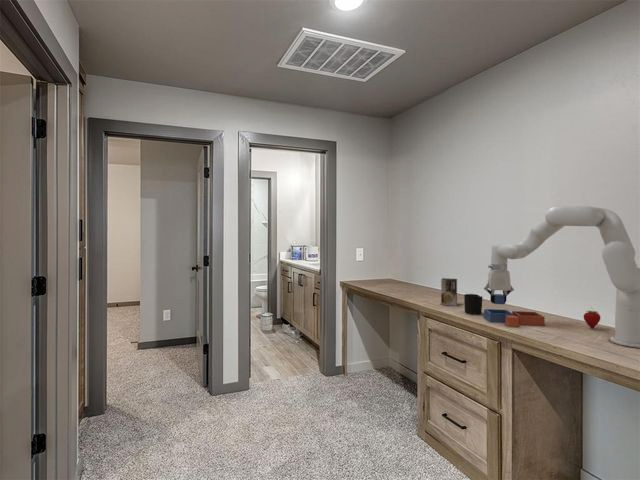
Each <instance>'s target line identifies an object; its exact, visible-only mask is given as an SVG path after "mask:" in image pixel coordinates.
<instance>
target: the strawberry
mask: <svg viewBox="0 0 640 480" xmlns="http://www.w3.org/2000/svg"><path fill="white" fill-rule="evenodd" d="M590 308H591V309H593V308H592V307H590ZM583 320H584V322H585V323H586V324H587V325H588V326H589V328H590V329H594V328H596V327H597V325H598V324H599V323H600V322H601V315H600V313H599V312H598V311H595V310H587V311H585V313H584V314H583Z"/></svg>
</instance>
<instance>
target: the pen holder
mask: <svg viewBox="0 0 640 480" xmlns="http://www.w3.org/2000/svg"><path fill="white" fill-rule="evenodd" d="M463 296H464V297H463V299H464V301H463V303H464V304H463V305H464V313H465V314H467V315H473V316H474V315H475V316H477V315H478V316H479V315H481V314H482V311H483V295H482V296H480V295H479V294H476V293H465V294H464V295H463Z"/></svg>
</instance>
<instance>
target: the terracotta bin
mask: <svg viewBox="0 0 640 480" xmlns="http://www.w3.org/2000/svg"><path fill="white" fill-rule="evenodd" d="M511 313H512V314H514V316H516V317H518V318H519V320H518V326H532V327H533V326H536V327H537V326H538V327H545V321H546V320H545V316H544V315H542V314H540V313H538V312H536V311H523V310H522V311H520V310H519V311H518V310H512V312H511Z"/></svg>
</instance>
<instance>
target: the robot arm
mask: <svg viewBox="0 0 640 480" xmlns="http://www.w3.org/2000/svg"><path fill="white" fill-rule="evenodd" d="M564 227H596V228H597V229H598V230H599V234H600V237H601V239H602V242H603V243H604V247H602V250H601V257H602V260H603V263H604V266H605V269H606V271H607V274H608V277H609V279H610V281H611V283H612V285H613V286H614V287H615V288H616V289H615V290H616V291H615V308H614V309H615V312H614V314H615V315H614V316H615V317H614V336H611V337H609V341H610V342H611V343H613V344H616V345H620V346H624V347H630V348H638V349H640V267H638V265H637V263H636V259H635V257H636V249H635V247H634V245H633V244H632V243H633V242H632V241H631V238H630V236H629V233H628V232H627V230H626V227H625V225H624V223H623V221H622V218H621V217H620V216H619V215H618V214H617V213H616V212H614V211H613V210H611V209H607V208H604V207H596V206H589V205H583V206H582V205H573V206H560V205H559V206H557V205H555V206H552V207H550V208H548V209H547V210H546V211H545V213H544V217H543V218H541V219H540V220H538V221H537V222H536V223H535V224H533V226H531V228H530V232H529V234H528V235H527V236H526V237H525V238H523V239H522V240H521V241H519V242H517V243H511V244H506V243H493V244H492V245H491V250H490V251H491V252H490V253H491V255H490V257H491V258H490V259H491V260H490V265H489V264H488V266H487V268H488V269H489V271H488V277H487V283H486V285H485V286H484V287H483V290H484V291H486V292H487V293H488V294H489V295H490V299H489V300H490V302H491V303H492V304H494V303H495V296H494V294H495V291H501V292H502V295H504V296H505V297H504V304H503V305H506V303H507V296H509V294H510V293H512V292H513V291H515V289H514V288H513V286H512V285H511V284H512V283H511V274H510V273H511V272H510V271H509V270H508V259H509V260H518V259H524V258H526V257H527V256H529V255H530V254H532V253H533V252H534V251H536V250H537V249H538V248H540V247H541V246H542V245H543V244H544V243H545V242H546V240H548V239H549V238H550V237H552V236H553V235H555V234H556V233H557V232H558V231H560V230H561V229H563V228H564Z"/></svg>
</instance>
